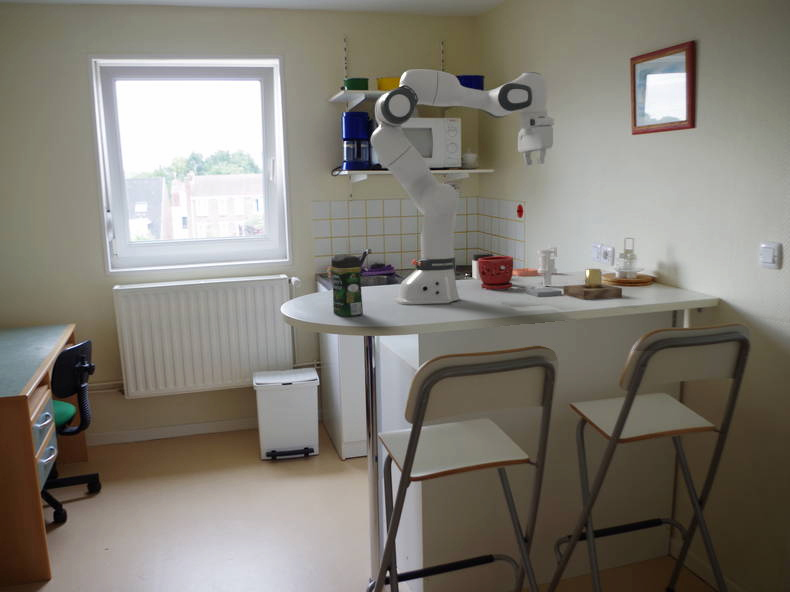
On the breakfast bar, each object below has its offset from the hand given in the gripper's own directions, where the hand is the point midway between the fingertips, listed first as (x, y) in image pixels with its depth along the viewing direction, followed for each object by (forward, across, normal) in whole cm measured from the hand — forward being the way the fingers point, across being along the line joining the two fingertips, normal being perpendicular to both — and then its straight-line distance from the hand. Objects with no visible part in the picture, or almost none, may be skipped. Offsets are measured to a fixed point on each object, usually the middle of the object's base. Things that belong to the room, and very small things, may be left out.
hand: (534, 164), depth 229 cm
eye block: (+45, +10, +16) cm, 49 cm away
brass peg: (+45, +10, +16) cm, 49 cm away
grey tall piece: (+45, -18, +13) cm, 50 cm away
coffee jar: (+44, +14, -70) cm, 83 cm away
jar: (+45, -38, -5) cm, 59 cm away
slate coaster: (+45, 0, +3) cm, 45 cm away
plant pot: (+45, -20, -7) cm, 50 cm away
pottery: (+46, -43, +19) cm, 66 cm away
